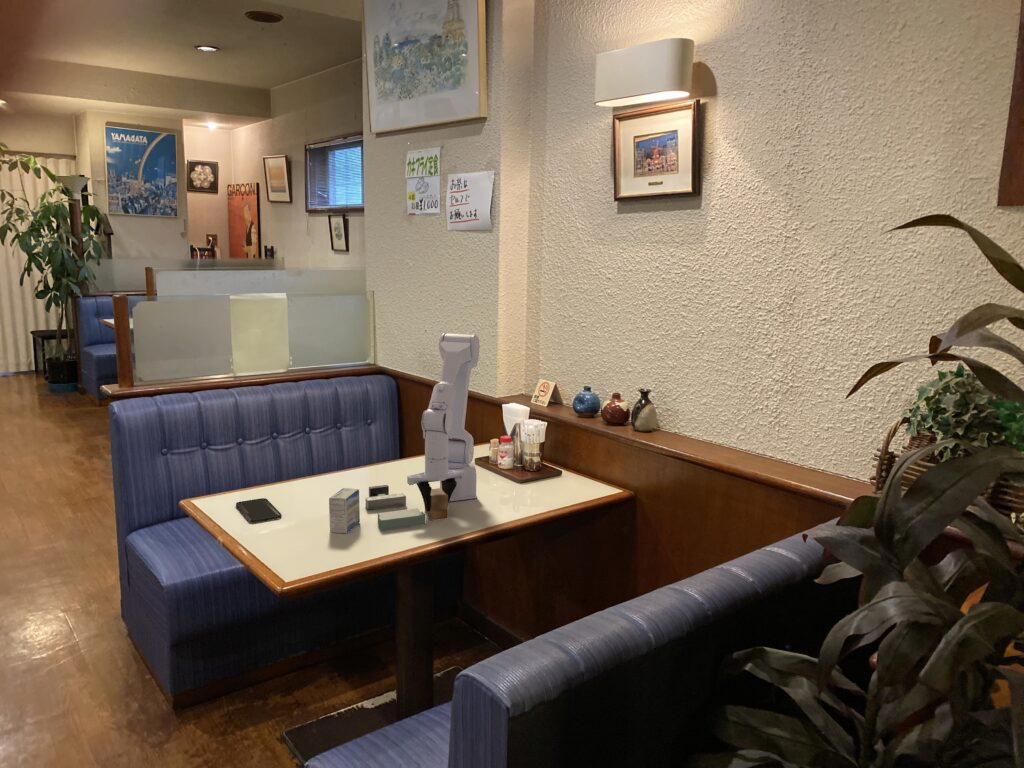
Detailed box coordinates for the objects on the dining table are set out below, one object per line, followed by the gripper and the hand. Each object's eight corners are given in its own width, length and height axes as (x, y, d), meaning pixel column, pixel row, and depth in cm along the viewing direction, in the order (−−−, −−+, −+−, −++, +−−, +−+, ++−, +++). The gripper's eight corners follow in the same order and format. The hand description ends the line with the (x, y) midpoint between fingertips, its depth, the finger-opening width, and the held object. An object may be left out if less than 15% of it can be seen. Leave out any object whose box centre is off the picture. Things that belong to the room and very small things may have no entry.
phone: (265, 497, 201) (282, 515, 189) (265, 501, 201) (282, 519, 189) (234, 502, 197) (249, 520, 184) (234, 506, 197) (250, 525, 185)
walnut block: (439, 510, 197) (439, 488, 196) (447, 518, 191) (448, 495, 190) (424, 512, 195) (425, 489, 194) (432, 520, 190) (432, 497, 189)
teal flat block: (419, 517, 191) (419, 508, 191) (425, 524, 187) (425, 514, 186) (375, 523, 187) (375, 513, 186) (381, 530, 182) (381, 520, 182)
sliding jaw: (396, 494, 208) (396, 483, 207) (406, 505, 200) (405, 493, 199) (359, 499, 203) (359, 487, 203) (368, 510, 195) (367, 498, 195)
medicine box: (347, 534, 179) (346, 499, 178) (329, 532, 180) (328, 497, 179) (360, 522, 187) (359, 488, 185) (343, 521, 188) (342, 487, 186)
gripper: (413, 463, 184) (413, 517, 186) (469, 458, 190) (469, 510, 192) (404, 456, 190) (404, 508, 193) (459, 450, 196) (459, 501, 199)
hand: (436, 508), depth 193 cm, fingers closed on walnut block, 4 cm apart
